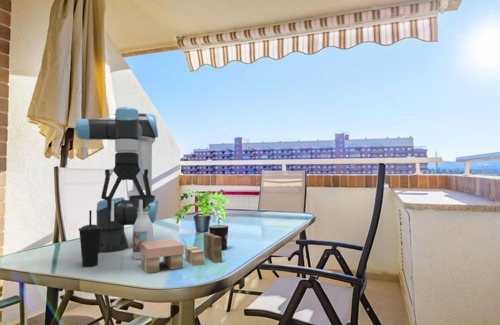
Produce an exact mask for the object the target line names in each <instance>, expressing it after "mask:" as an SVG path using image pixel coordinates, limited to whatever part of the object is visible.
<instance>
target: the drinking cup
mask: <svg viewBox="0 0 500 325" xmlns="http://www.w3.org/2000/svg"><path fill="white" fill-rule="evenodd" d="M88 211H89V213H88V215H89V219H88V223H89V224H85V225H83V226H81V227H79V228H78V231H79V240H80V252H81V253H80V254H81V263H82V267H83V268H92V267H96V266H98V264H99V254H100V252H99V244H100V234H101V229H102V227H100V226H98V225H97V224H93V223H92V210H88Z"/></svg>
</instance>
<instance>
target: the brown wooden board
mask: <svg viewBox="0 0 500 325" xmlns="http://www.w3.org/2000/svg"><path fill="white" fill-rule="evenodd" d="M203 251H204V258H206V259H208V260H209V261H212V262H213V263H215V264H218V263H222V261H223V255H222V254H223V250H222V241H221V237H220V236H217V235H214V234H211V233H210V232H208V233H207V232H206V233H203Z"/></svg>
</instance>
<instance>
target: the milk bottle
mask: <svg viewBox="0 0 500 325" xmlns="http://www.w3.org/2000/svg"><path fill="white" fill-rule="evenodd" d="M137 213H138V216H137V219H136V222H135V224H134V225H133V226H132V227H133V228H132V258H133V259H134V260H141V251H140V243H141V242H151V241H154V228H153V223H152V222H151V220H150V218H149V214H148V213H149V207H146V208H145V209H143V219H139V207H138V208H137Z"/></svg>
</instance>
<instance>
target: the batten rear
mask: <svg viewBox="0 0 500 325" xmlns="http://www.w3.org/2000/svg"><path fill="white" fill-rule="evenodd" d="M140 266H141V269H143V270H144V272H145V273H146V274H152V273H158V272H160V257H157V258H149V259H147V257H146V256H145V255H144V254H143V253H142V252H141V259H140Z"/></svg>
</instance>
